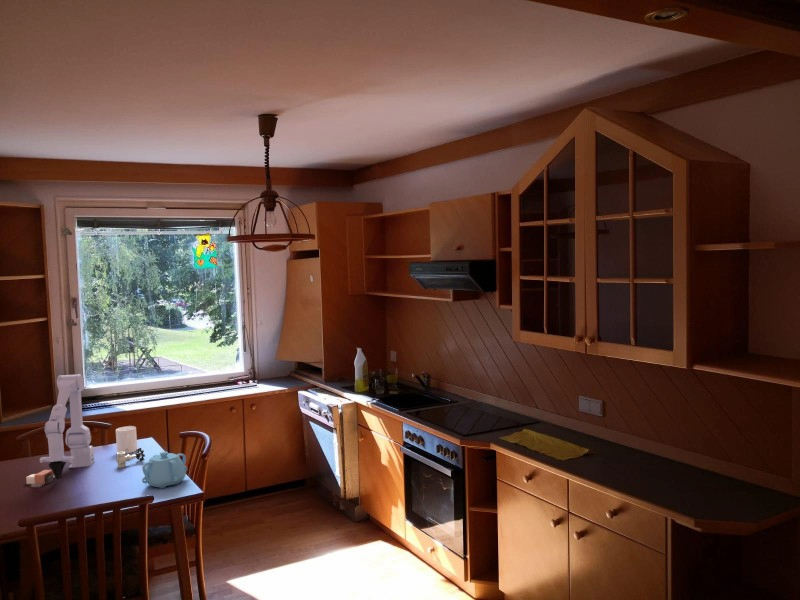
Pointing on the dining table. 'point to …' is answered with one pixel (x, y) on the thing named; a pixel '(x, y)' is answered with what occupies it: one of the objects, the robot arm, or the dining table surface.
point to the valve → (129, 457)
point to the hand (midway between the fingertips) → (58, 478)
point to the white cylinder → (126, 439)
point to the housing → (41, 478)
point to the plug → (31, 479)
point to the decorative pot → (164, 470)
